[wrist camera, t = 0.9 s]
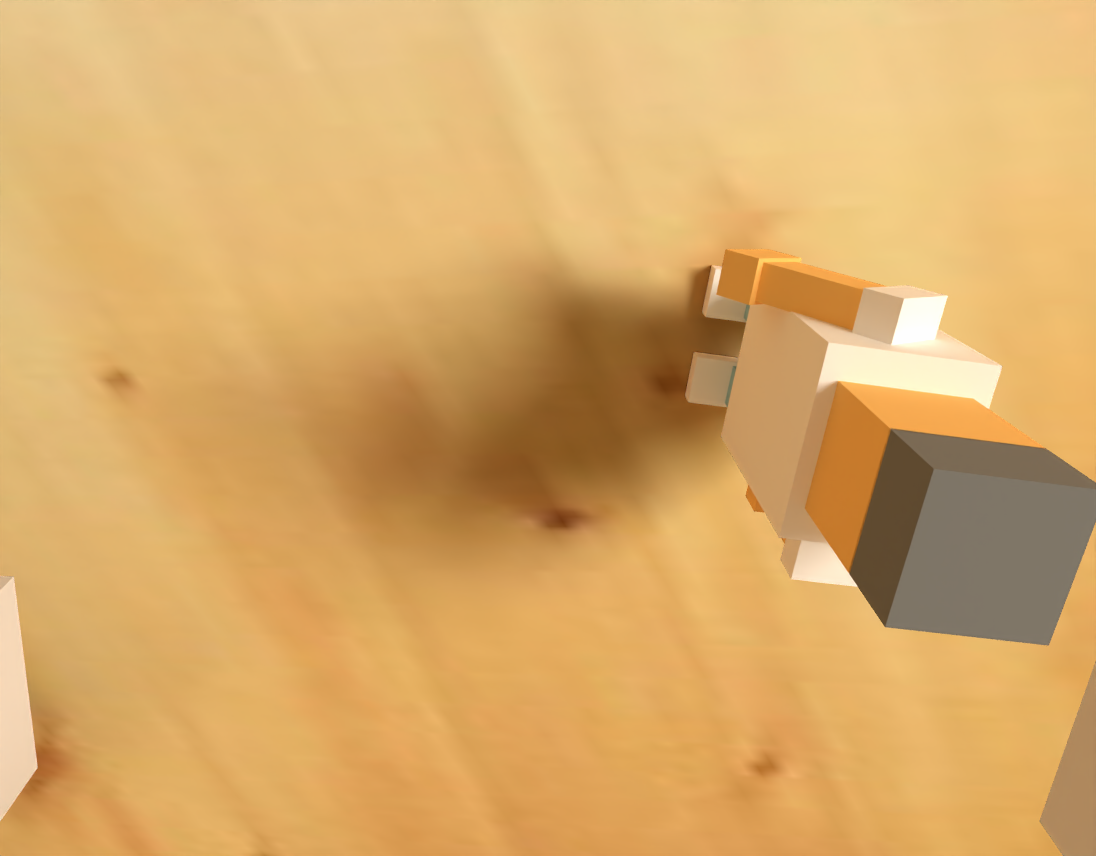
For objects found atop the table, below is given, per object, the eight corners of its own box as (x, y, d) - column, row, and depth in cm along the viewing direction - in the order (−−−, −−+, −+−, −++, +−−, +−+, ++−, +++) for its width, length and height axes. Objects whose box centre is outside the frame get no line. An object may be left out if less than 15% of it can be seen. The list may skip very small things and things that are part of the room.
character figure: (724, 480, 39) (884, 783, 22) (618, 257, 36) (710, 413, 19) (900, 398, 38) (1209, 651, 21) (808, 161, 35) (1087, 234, 18)
